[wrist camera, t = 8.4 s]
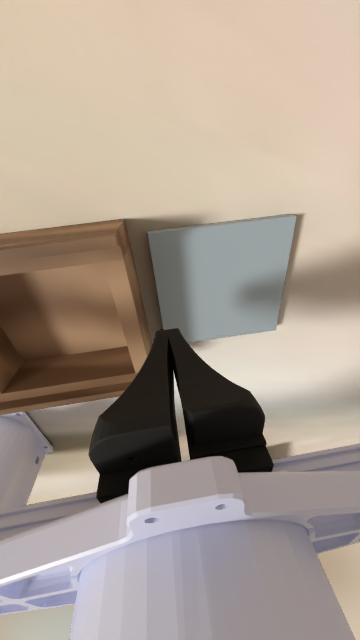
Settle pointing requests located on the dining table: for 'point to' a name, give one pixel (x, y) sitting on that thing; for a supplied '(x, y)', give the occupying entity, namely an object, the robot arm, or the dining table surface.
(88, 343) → the wooden box
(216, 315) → the cover plate
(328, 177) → the dining table surface
